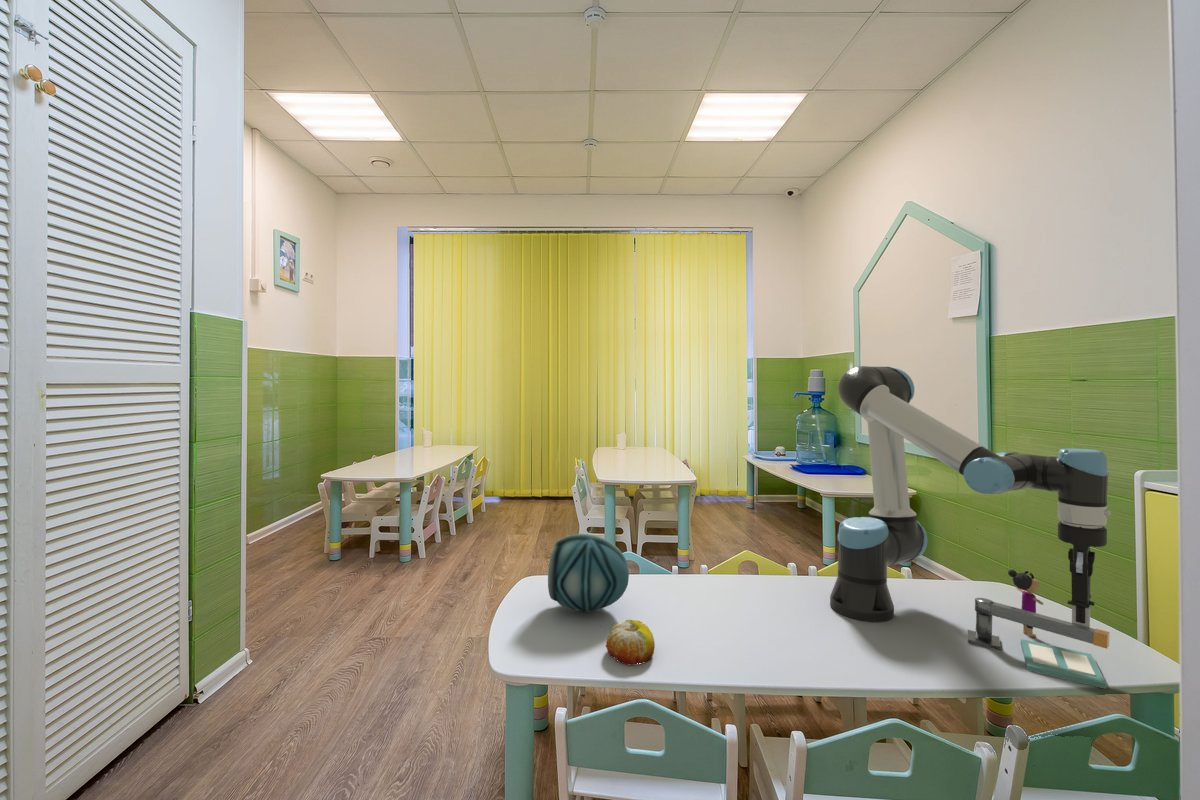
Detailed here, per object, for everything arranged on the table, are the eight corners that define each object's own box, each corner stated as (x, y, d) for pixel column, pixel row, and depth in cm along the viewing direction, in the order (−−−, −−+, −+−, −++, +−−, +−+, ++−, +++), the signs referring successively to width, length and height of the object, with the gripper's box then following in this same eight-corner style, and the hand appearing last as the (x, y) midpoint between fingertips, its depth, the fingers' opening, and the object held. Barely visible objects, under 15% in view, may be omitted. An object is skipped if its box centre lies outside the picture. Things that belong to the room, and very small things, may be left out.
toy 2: (1051, 646, 119) (1052, 580, 119) (1023, 643, 120) (1024, 578, 120) (1023, 625, 129) (1025, 565, 129) (998, 623, 130) (999, 563, 130)
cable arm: (972, 611, 121) (972, 599, 121) (977, 607, 123) (977, 596, 123) (1106, 649, 103) (1106, 636, 103) (1109, 644, 106) (1110, 631, 106)
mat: (1027, 669, 109) (1027, 663, 109) (1020, 643, 120) (1020, 637, 120) (1106, 689, 102) (1106, 682, 102) (1091, 658, 114) (1091, 652, 114)
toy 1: (560, 594, 147) (560, 523, 147) (631, 598, 144) (631, 526, 144) (544, 624, 129) (544, 543, 128) (625, 629, 126) (625, 547, 125)
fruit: (603, 639, 120) (614, 606, 120) (647, 654, 120) (657, 620, 120) (602, 664, 109) (614, 627, 109) (650, 680, 109) (662, 643, 109)
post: (967, 643, 120) (968, 614, 120) (967, 633, 125) (968, 605, 125) (1000, 650, 117) (1001, 621, 117) (999, 639, 122) (999, 611, 122)
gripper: (1105, 533, 101) (1104, 653, 102) (1108, 521, 110) (1107, 631, 111) (1054, 526, 107) (1053, 640, 107) (1061, 515, 116) (1060, 620, 116)
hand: (1080, 635), depth 109 cm, fingers closed
